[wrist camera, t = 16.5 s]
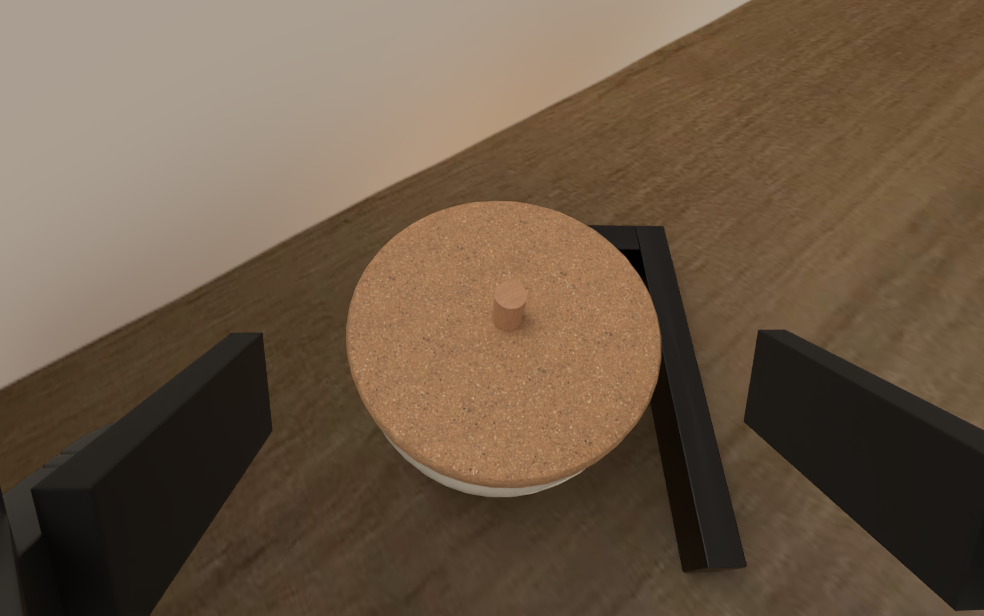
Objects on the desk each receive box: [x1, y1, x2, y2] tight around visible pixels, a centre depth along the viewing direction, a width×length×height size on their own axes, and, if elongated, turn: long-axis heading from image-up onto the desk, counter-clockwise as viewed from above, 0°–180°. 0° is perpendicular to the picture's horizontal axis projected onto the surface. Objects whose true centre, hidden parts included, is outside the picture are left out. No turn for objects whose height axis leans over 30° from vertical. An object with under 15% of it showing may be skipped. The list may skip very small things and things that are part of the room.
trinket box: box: [346, 201, 661, 497], centre depth 21 cm, size 11×11×9 cm
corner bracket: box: [587, 225, 747, 572], centre depth 24 cm, size 12×16×2 cm
